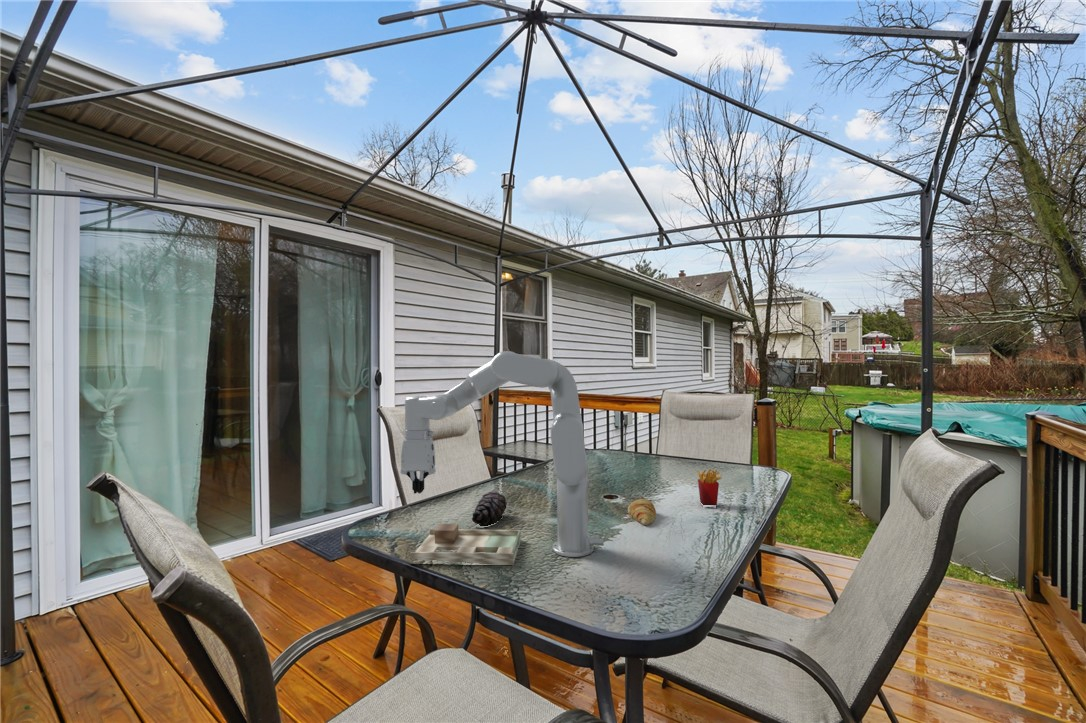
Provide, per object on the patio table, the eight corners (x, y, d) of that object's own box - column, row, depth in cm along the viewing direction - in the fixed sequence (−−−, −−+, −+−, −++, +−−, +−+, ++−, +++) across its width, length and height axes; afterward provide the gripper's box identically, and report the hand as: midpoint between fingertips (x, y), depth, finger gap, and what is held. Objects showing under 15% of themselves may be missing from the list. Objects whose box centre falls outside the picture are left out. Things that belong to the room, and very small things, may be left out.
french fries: (697, 503, 194) (696, 466, 194) (718, 503, 193) (717, 466, 193) (703, 510, 185) (703, 471, 185) (725, 510, 184) (725, 471, 184)
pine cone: (468, 529, 168) (468, 501, 168) (483, 513, 185) (483, 487, 185) (497, 531, 166) (496, 502, 166) (510, 514, 183) (509, 488, 183)
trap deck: (520, 540, 156) (520, 530, 156) (513, 566, 137) (513, 553, 137) (430, 539, 158) (430, 529, 158) (410, 564, 139) (410, 552, 139)
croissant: (654, 537, 167) (665, 517, 167) (628, 523, 168) (639, 503, 167) (645, 516, 188) (654, 498, 188) (622, 504, 189) (631, 486, 188)
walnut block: (458, 536, 156) (458, 524, 156) (453, 543, 150) (453, 530, 150) (440, 536, 156) (440, 523, 156) (434, 543, 150) (434, 530, 150)
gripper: (444, 432, 157) (445, 489, 157) (398, 433, 158) (399, 489, 158) (437, 436, 149) (438, 495, 149) (389, 436, 150) (390, 495, 150)
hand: (418, 492), depth 153 cm, fingers closed
